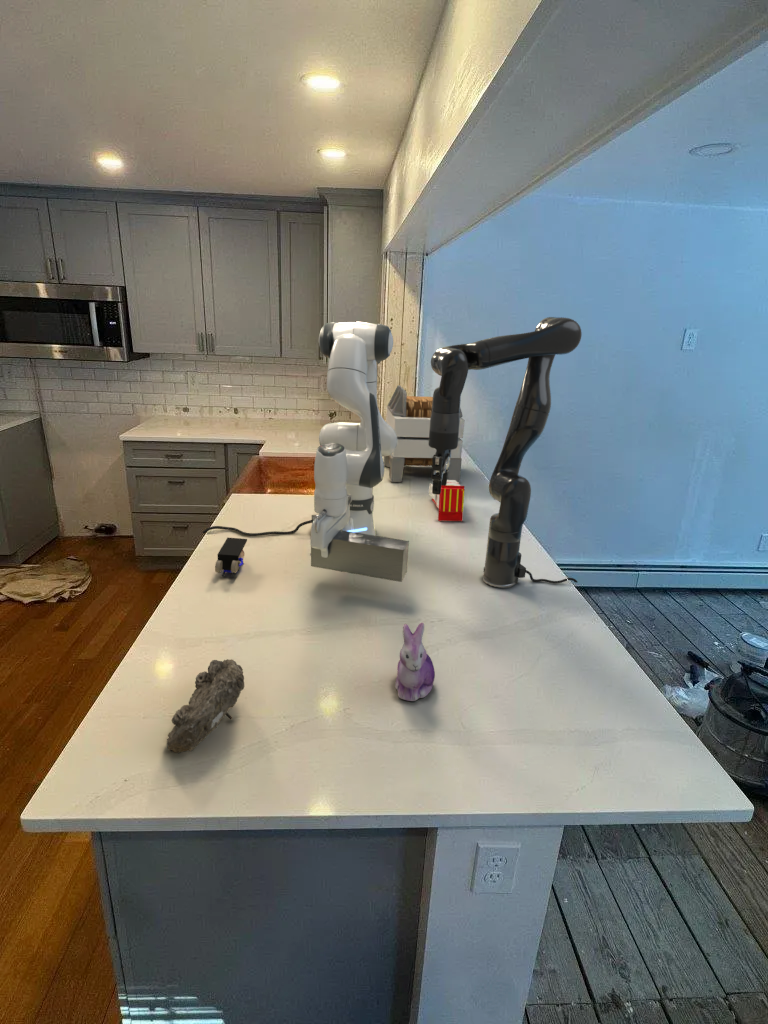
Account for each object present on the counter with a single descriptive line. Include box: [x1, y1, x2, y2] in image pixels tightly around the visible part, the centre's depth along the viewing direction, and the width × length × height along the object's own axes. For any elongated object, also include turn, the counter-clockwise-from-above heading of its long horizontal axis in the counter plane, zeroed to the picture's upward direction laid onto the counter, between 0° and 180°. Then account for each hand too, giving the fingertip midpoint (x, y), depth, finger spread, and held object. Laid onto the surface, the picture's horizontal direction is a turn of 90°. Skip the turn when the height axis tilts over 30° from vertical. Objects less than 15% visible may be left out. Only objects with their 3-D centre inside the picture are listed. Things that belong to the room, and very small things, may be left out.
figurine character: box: [214, 537, 248, 578], centre depth 166 cm, size 7×8×15 cm
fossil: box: [166, 658, 245, 754], centre depth 106 cm, size 22×10×15 cm
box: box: [310, 530, 410, 583], centre depth 155 cm, size 26×6×10 cm, turn 74°
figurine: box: [394, 622, 436, 702], centre depth 116 cm, size 9×10×15 cm
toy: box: [428, 480, 465, 522], centre depth 225 cm, size 12×13×30 cm
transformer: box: [383, 384, 465, 484], centre depth 268 cm, size 34×33×41 cm
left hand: (330, 550), depth 157 cm, fingers closed on box, 6 cm apart
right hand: (439, 489), depth 150 cm, fingers open, 8 cm apart
